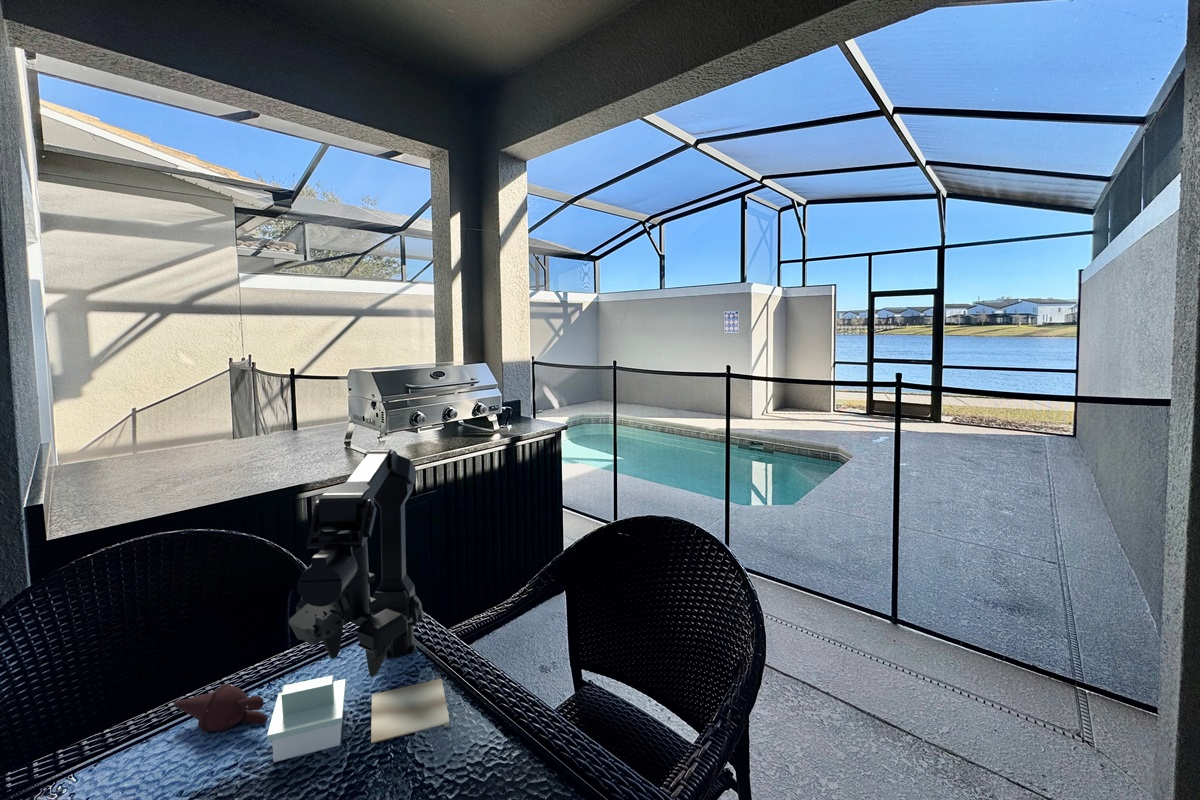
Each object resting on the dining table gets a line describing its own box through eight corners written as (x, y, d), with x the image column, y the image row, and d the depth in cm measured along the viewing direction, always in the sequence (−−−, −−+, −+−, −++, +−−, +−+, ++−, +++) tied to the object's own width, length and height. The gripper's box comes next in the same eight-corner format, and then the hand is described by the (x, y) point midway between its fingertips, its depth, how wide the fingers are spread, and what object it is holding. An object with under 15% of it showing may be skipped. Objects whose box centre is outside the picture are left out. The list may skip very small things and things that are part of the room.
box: (283, 725, 88) (281, 700, 87) (343, 710, 91) (342, 686, 91) (273, 765, 80) (271, 738, 79) (340, 748, 83) (338, 722, 82)
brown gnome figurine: (151, 708, 82) (246, 718, 82) (188, 668, 89) (276, 677, 89) (161, 739, 85) (253, 748, 85) (196, 698, 92) (281, 707, 92)
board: (372, 698, 94) (371, 694, 94) (441, 682, 99) (441, 678, 99) (371, 746, 83) (371, 742, 83) (449, 726, 88) (449, 721, 88)
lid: (279, 703, 88) (277, 673, 87) (345, 688, 91) (344, 660, 91) (267, 746, 78) (265, 713, 78) (342, 728, 82) (340, 696, 82)
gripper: (257, 580, 78) (265, 677, 80) (341, 612, 69) (348, 720, 72) (327, 552, 88) (332, 639, 90) (408, 577, 79) (411, 673, 81)
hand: (353, 666), depth 83 cm, fingers open, 9 cm apart
